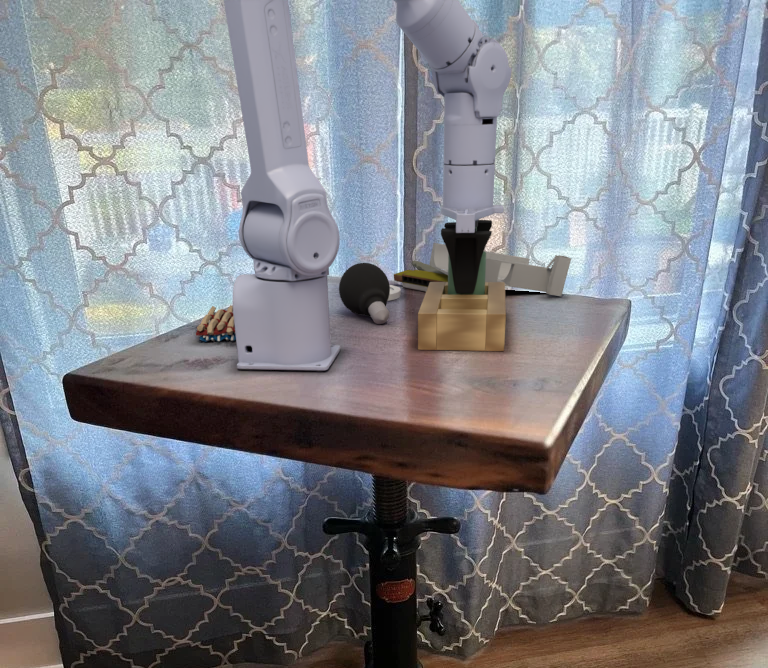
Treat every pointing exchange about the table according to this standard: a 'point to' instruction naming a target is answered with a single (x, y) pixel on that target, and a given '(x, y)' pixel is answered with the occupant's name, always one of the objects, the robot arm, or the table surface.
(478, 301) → the hole block
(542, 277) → the skate ramp
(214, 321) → the woven mat
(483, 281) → the bottle
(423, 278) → the harmonica
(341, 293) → the light bulb
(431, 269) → the stone
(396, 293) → the pendant
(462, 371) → the table surface
